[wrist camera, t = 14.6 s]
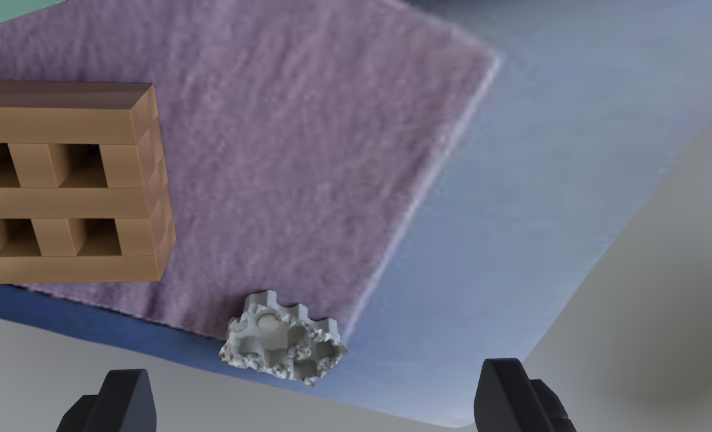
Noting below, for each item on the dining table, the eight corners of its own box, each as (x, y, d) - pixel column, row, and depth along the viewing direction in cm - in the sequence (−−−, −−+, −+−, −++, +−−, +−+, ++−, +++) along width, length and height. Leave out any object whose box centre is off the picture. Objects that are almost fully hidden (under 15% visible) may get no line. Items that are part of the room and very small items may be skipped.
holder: (-46, 78, 36) (-103, 104, 31) (153, 83, 38) (130, 109, 33) (9, 240, 43) (-31, 284, 38) (176, 239, 44) (160, 281, 39)
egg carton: (217, 328, 50) (211, 359, 46) (260, 276, 47) (257, 305, 44) (307, 371, 54) (307, 403, 50) (351, 326, 51) (354, 356, 48)
